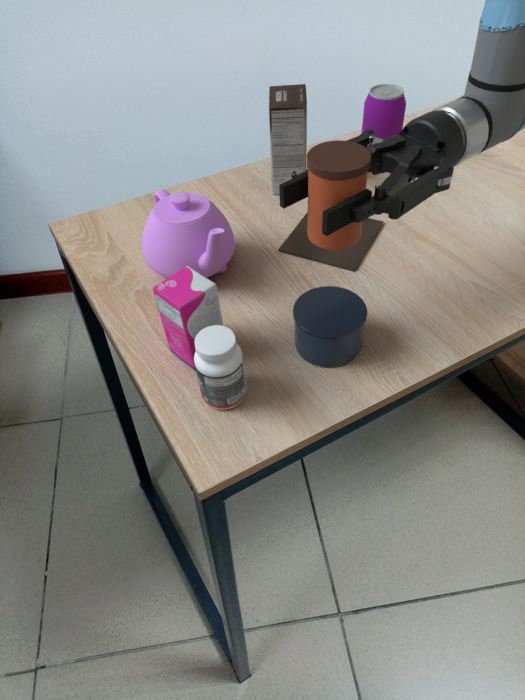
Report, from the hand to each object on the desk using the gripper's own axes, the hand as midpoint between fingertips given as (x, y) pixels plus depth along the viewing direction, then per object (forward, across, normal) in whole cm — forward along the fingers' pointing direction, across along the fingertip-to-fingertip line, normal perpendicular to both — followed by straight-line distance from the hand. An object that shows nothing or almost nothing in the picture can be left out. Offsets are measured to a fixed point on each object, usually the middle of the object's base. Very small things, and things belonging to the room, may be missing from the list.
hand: (302, 209), depth 58 cm
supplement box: (+12, +7, -20) cm, 25 cm away
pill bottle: (+14, -1, -20) cm, 25 cm away
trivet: (-19, +14, -20) cm, 31 cm away
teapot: (+3, +22, -20) cm, 30 cm away
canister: (-5, 0, -6) cm, 7 cm away
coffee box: (-25, +32, -20) cm, 46 cm away
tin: (-2, -3, -20) cm, 20 cm away
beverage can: (-45, +29, -20) cm, 57 cm away
